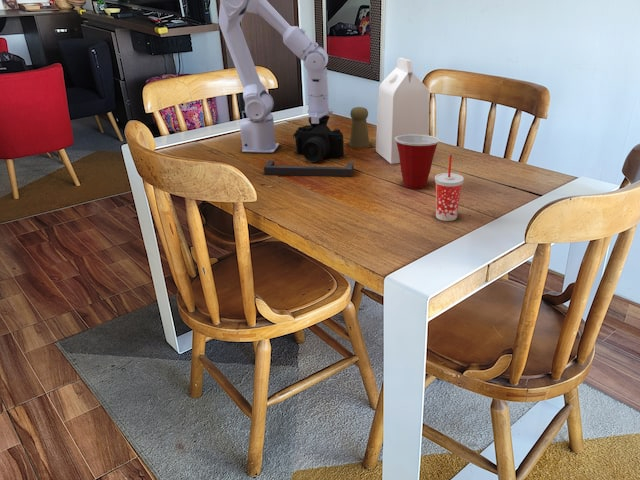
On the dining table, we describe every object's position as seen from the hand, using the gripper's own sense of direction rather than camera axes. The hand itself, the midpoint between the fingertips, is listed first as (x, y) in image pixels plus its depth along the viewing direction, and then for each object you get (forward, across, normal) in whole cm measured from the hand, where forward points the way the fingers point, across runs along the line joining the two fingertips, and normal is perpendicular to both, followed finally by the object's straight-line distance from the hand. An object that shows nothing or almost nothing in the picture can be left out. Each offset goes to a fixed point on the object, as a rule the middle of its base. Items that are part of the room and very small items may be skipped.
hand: (320, 141), depth 166 cm
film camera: (+3, -7, 0) cm, 8 cm away
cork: (+3, +6, -11) cm, 13 cm away
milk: (+3, -3, -24) cm, 24 cm away
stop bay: (+2, -19, 0) cm, 19 cm away
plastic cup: (+3, -26, -28) cm, 38 cm away
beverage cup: (+3, -45, -35) cm, 57 cm away
